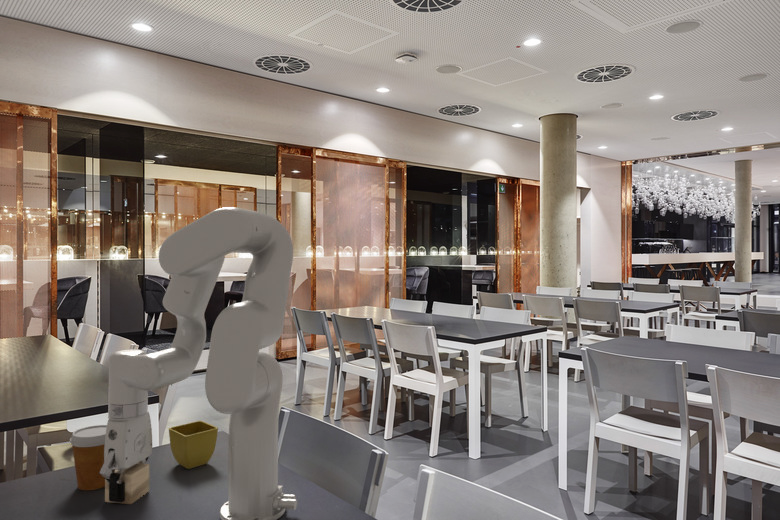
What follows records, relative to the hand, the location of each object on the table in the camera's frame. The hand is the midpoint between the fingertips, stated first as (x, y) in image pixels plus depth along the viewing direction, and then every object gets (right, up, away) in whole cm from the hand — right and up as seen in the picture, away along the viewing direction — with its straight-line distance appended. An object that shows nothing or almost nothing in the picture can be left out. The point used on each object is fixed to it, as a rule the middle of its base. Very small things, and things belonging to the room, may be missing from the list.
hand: (127, 493), depth 113 cm
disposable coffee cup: (-10, -1, +6) cm, 12 cm away
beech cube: (0, -1, 0) cm, 1 cm away
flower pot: (+7, -1, +18) cm, 19 cm away
